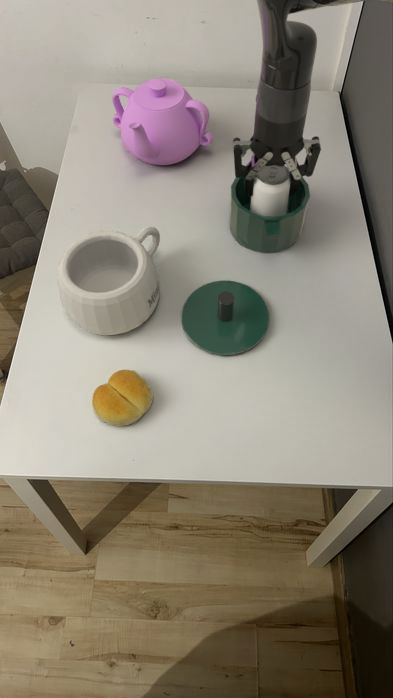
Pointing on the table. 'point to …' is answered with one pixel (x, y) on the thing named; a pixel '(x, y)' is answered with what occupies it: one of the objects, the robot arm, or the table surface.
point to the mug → (109, 281)
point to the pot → (267, 220)
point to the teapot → (161, 122)
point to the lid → (225, 317)
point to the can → (271, 191)
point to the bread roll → (122, 398)
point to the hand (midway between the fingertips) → (270, 192)
